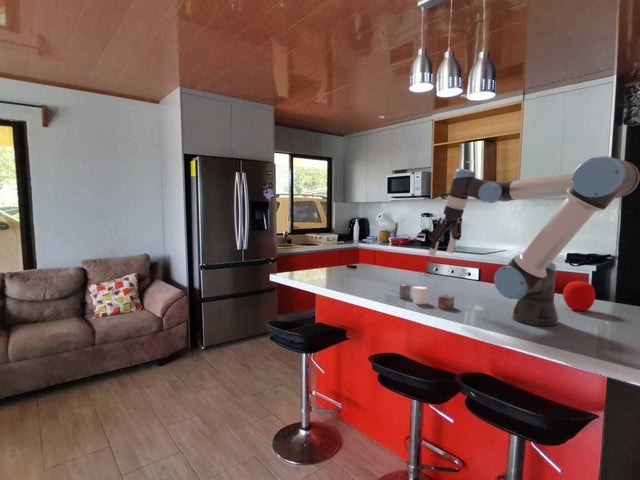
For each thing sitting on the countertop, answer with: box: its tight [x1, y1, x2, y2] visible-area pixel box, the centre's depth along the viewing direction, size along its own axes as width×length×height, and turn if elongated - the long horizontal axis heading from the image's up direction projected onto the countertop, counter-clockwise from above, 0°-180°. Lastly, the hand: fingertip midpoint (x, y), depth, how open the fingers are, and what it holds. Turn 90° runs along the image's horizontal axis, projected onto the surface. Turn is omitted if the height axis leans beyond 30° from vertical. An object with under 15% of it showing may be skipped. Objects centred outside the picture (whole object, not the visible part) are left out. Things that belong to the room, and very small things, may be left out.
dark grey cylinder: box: [398, 283, 411, 300], centre depth 176 cm, size 5×5×6 cm
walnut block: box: [437, 294, 455, 311], centre depth 159 cm, size 5×5×5 cm
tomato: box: [562, 280, 597, 312], centre depth 157 cm, size 11×11×13 cm
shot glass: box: [412, 285, 429, 305], centre depth 167 cm, size 7×7×7 cm
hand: (440, 254), depth 161 cm, fingers open, 13 cm apart
